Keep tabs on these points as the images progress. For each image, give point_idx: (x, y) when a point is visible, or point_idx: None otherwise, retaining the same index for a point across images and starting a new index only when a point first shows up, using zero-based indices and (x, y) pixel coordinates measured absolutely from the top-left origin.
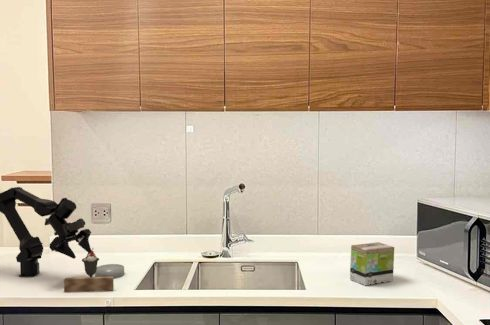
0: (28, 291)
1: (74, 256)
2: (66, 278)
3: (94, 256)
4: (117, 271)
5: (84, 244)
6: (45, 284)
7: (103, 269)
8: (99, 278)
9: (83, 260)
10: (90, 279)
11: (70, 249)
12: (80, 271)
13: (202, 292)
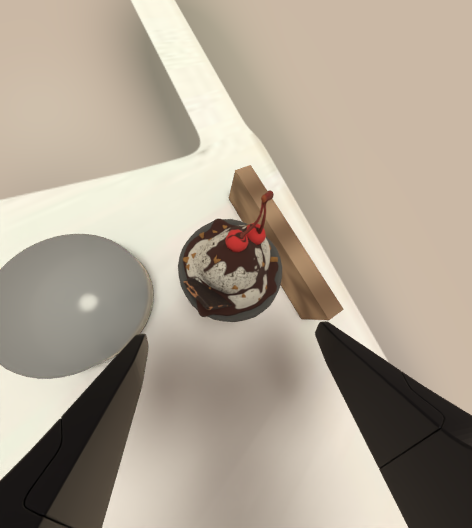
0: None
1: (333, 326)
2: (333, 306)
3: (238, 227)
4: (108, 239)
5: (89, 491)
6: (295, 452)
7: (105, 309)
8: (272, 200)
9: (267, 293)
10: (288, 227)
11: (396, 380)
12: None
13: (163, 25)
